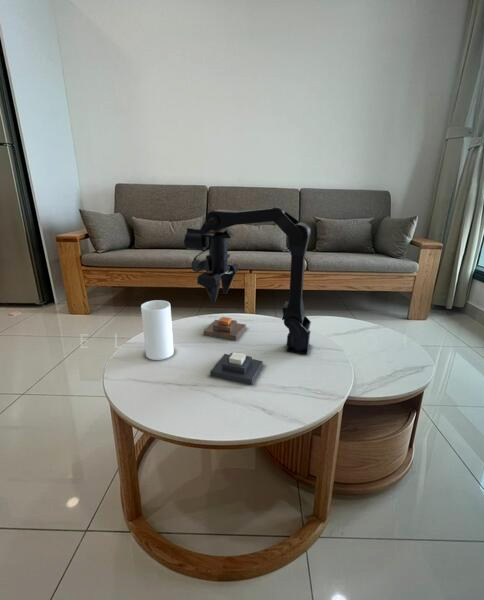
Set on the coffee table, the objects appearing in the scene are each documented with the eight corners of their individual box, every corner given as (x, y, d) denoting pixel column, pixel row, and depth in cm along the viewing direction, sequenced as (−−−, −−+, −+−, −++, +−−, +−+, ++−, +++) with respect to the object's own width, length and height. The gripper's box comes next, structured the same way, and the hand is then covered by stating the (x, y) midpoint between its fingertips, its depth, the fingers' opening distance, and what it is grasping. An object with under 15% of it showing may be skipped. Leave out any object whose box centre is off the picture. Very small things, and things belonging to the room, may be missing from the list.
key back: (231, 322, 115) (231, 318, 114) (228, 326, 111) (227, 322, 111) (222, 321, 116) (222, 316, 115) (218, 325, 112) (218, 320, 112)
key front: (245, 359, 91) (245, 354, 91) (241, 366, 88) (241, 360, 87) (233, 357, 92) (233, 351, 92) (229, 363, 89) (229, 358, 88)
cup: (157, 363, 94) (152, 312, 88) (140, 353, 99) (135, 305, 93) (179, 352, 100) (176, 304, 95) (162, 344, 105) (158, 298, 99)
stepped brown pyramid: (245, 328, 117) (245, 319, 116) (235, 340, 108) (236, 331, 107) (215, 323, 121) (215, 315, 119) (203, 334, 112) (203, 325, 111)
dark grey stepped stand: (262, 365, 94) (263, 355, 93) (251, 385, 85) (252, 373, 84) (224, 358, 97) (224, 348, 96) (210, 376, 88) (210, 365, 87)
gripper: (208, 244, 111) (209, 287, 117) (179, 255, 95) (183, 304, 100) (238, 247, 108) (238, 290, 113) (214, 258, 91) (215, 309, 97)
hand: (219, 298), depth 106 cm, fingers open, 9 cm apart
